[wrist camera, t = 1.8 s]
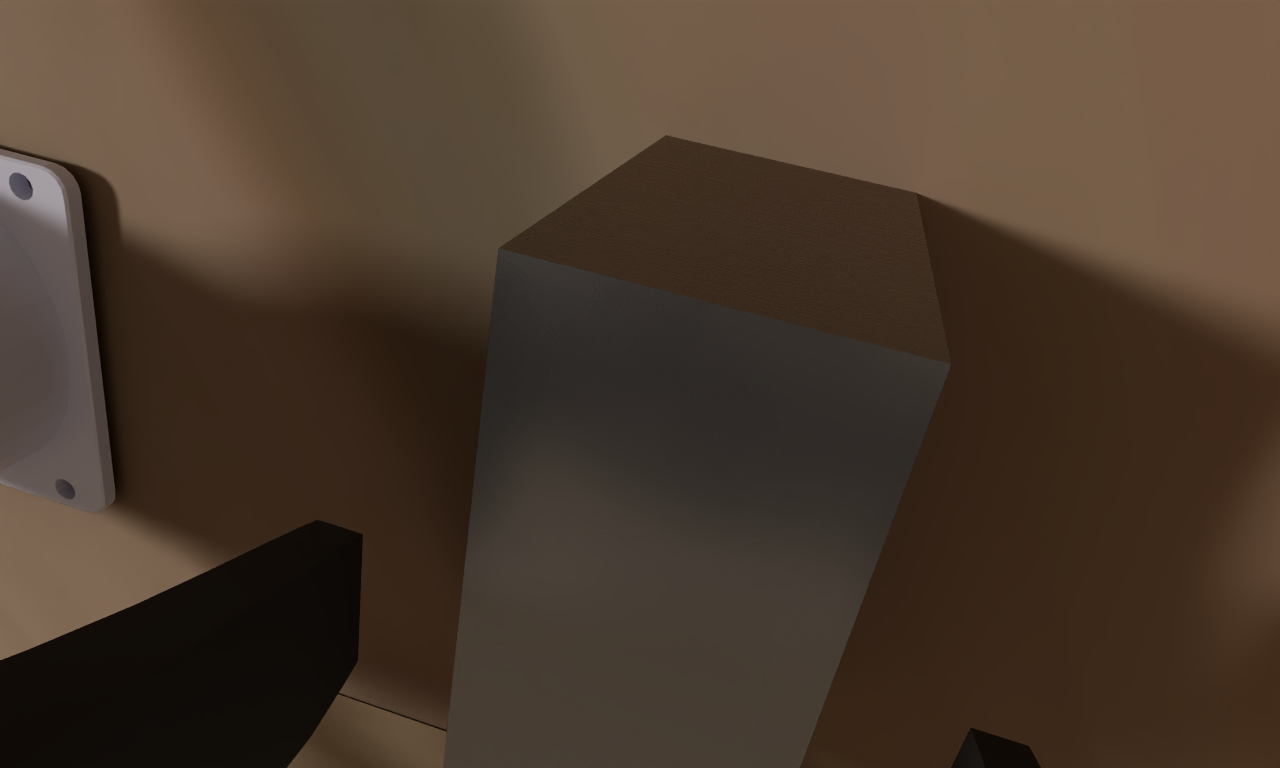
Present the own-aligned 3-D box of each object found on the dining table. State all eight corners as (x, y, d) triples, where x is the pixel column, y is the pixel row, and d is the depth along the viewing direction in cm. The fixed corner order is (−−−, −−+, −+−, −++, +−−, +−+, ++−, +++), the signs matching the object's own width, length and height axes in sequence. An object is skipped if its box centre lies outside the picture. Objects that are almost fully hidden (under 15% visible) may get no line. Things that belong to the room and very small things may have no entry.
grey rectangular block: (578, 610, 18) (426, 924, 12) (666, 134, 14) (498, 249, 8) (762, 668, 18) (701, 1029, 12) (916, 191, 13) (951, 364, 7)
